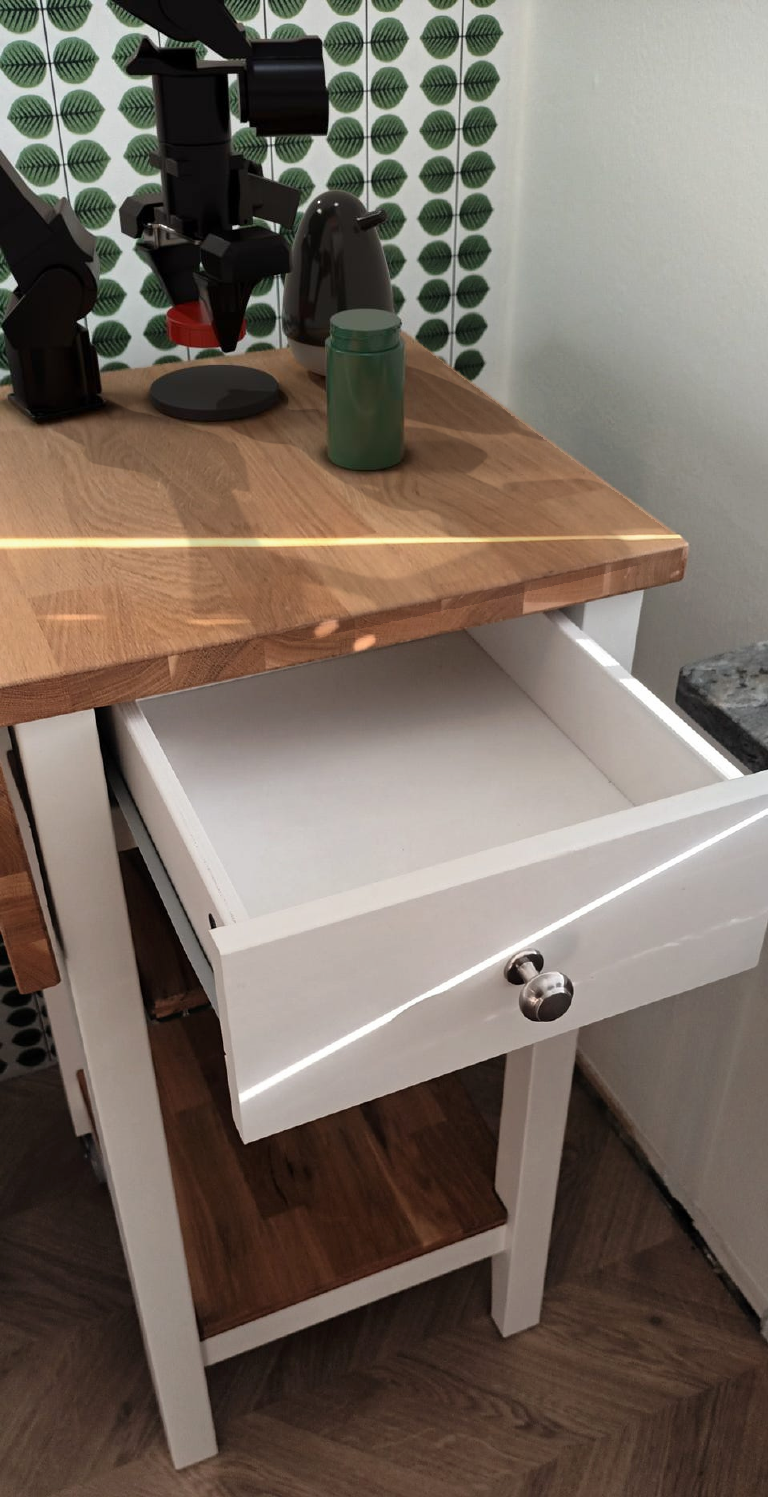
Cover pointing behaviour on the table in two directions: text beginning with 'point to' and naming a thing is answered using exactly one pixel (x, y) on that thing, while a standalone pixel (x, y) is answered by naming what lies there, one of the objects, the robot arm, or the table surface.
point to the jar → (365, 389)
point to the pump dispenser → (333, 273)
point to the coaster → (214, 392)
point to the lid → (193, 326)
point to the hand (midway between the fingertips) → (210, 341)
